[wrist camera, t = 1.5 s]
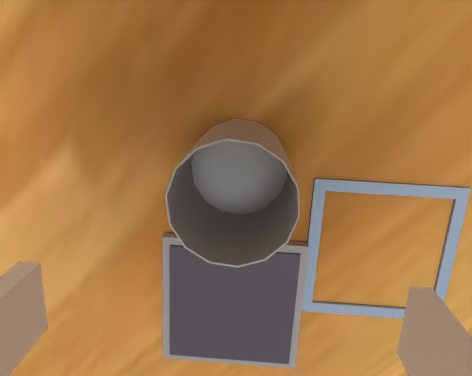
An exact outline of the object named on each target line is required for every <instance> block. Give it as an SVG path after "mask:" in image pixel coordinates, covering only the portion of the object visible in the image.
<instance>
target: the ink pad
mask: <svg viewBox="0 0 472 376" xmlns="http://www.w3.org/2000/svg"><path fill="white" fill-rule="evenodd" d="M162 252H163V358H168V359H181V360H193V361H206V362H219V363H231V364H244V365H257V366H270V367H282V368H295V366H296V357H297V349H298V340H299V331H300V322H301V313H302V305H303V296H304V287H305V278H306V269H307V260H308V252H309V245H308V242H299V241H289V242H288V243H287V244H286V245H284V246H283V247H282V248H281V249H280V250H278V251H277V252H276V253H275V254H273V255H272V256H271V257H270V258H268V259H267V260H266V261H262V262H258V263H254V264H250V265H247V266H243V267H239V268H236V267H230V266H223V265H217V264H211V263H208V262H206V261H205V260H203V259H202V258H200V257H198V256H197V255H195V254H194V253H192V252H190V251H189V250H187V249H186V248H184V246H183V245H182V243H181V242H180V240H179V239H178V237H177V236H176V234H175V233H164V235H163V237H162Z"/></svg>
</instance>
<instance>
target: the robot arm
mask: <svg viewBox="0 0 472 376" xmlns="http://www.w3.org/2000/svg"><path fill="white" fill-rule="evenodd" d="M47 328H48V326H47V317H46V308H45V300H44V291H43V283H42V274H41V266H40V263H32V262H18V263H17V264H16V265H15V266H13V267H12V268H11V269H10V270H9V271H7V272H6V273H5V274H4V275H2V276H1V277H0V376H9V375H10V374H11V373H12V371H13V370H14V369H15V368H16V367H17V365H18V364H19V363H20V362H21V360H22V359H23V358H24V357H25V355H26V354H27V353H28V352H29V351H30V349H31V348H32V347H33V346H34V344H35V343H36V342H37V341H38V340H39V338H40V337H41V336H42V335H43V333H44V332H45V331H46V330H47ZM397 354H398V356H399V358H400V360H401V362H402V364H403V366H404V368H405V370H406V372H407V374H408V376H472V337H471V336H470V335H469V333H468V332H467V331H466V330H465V328H464V327H463V326H462V325H461V323H460V322H459V321H458V320H457V318H456V317H455V316H454V315H453V313H452V312H451V311H450V310H449V308H448V307H447V306H446V305H445V303H444V302H443V301H442V300H441V298H440V297H439V296H438V295H437V293H436V292H435V291H434V290H433V288H425V287H409V293H408V298H407V303H406V308H405V313H404V319H403V324H402V329H401V334H400V339H399V345H398V350H397Z"/></svg>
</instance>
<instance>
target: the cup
mask: <svg viewBox="0 0 472 376" xmlns="http://www.w3.org/2000/svg"><path fill="white" fill-rule="evenodd" d="M165 200H166V207H167V215H168V222H169V225H170V227H171V228H172V230H173V231H174V233H175V234H176V236H177V237H178V239H179V240H180V242H181V243H182V245H183V246H184V248H186V249H187V250H189V251H190V252H192V253H194V254H195V255H197V256H198V257H200V258H202V259H203V260H205V261H206V262H208V263H211V264H217V265H223V266H230V267H236V268H239V267H243V266H247V265H250V264H254V263H258V262H262V261H266V260H267V259H268V258H270V257H271V256H272V255H273V254H275V253H276V252H277V251H278V250H280V249H281V248H282V247H283V246H284V245H286V244H287V243H288V242H289V239H290V237H291V235H292V233H293V231H294V229H295V227H296V225H297V222H298V220H299V218H300V198H299V186H298V183H297V180H296V177H295V175H294V172H293V169H292V166H291V163H290V161H289V158H288V155H287V153H286V151H285V149H284V147H283V146H282V144H281V142H280V140H279V138H278V136H277V135H276V134H275V133H273V132H272V131H271V130H269V129H268V128H266V127H265V126H263V125H262V124H260V123H259V122H256V121H249V120H243V119H236V118H235V119H232V120H229V121H226V122H222V123H219V124H216V125H214V126H213V127H212V128H211V129H210V130H209V131H207V132H206V133H205V134H204V135H203V136H202V137H201V138H200V139H199V140H198V141H197V142H196V144H195V145H194V146H193V147H192V148H191V149H190V151H189V152H188V153H187V154H186V155H185V157H184V158H183V159H182V160H181V161H180V162H179V164H178V165H177V166H176V167H175V168H174V171H173V174H172V177H171V180H170V183H169V186H168V188H167V191H166V194H165Z"/></svg>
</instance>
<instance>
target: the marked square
mask: <svg viewBox="0 0 472 376" xmlns="http://www.w3.org/2000/svg"><path fill="white" fill-rule="evenodd" d="M470 190H471V188H469V187H453V186H437V185H420V184H404V183H387V182H371V181H355V180H338V179H322V178H315V181H314V190H313V198H312V207H311V216H310V225H309V234H308V245H309V252H308V260H307V269H306V278H305V287H304V296H303V305H302V311H306V312H320V313H333V314H347V315H361V316H374V317H388V318H402V319H404V313H405V308H404V307H390V306H376V305H362V304H348V303H335V302H321V301H312V300H313V292H314V284H315V275H316V267H317V259H318V251H319V242H320V234H321V226H322V218H323V209H324V201H325V193H326V191H335V192H351V193H367V194H383V195H399V196H415V197H431V198H447V199H454V203H453V207H452V212H451V216H450V221H449V225H448V230H447V234H446V239H445V243H444V248H443V252H442V257H441V261H440V266H439V270H438V275H437V279H436V284H435V288H434V291H435V292H436V293H437V295H438V296H439V297H440V298H441V300H442V301H443V302H445V297H446V293H447V289H448V285H449V280H450V276H451V272H452V267H453V263H454V259H455V255H456V250H457V246H458V242H459V238H460V233H461V229H462V225H463V220H464V216H465V212H466V208H467V203H468V199H469V195H470Z"/></svg>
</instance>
